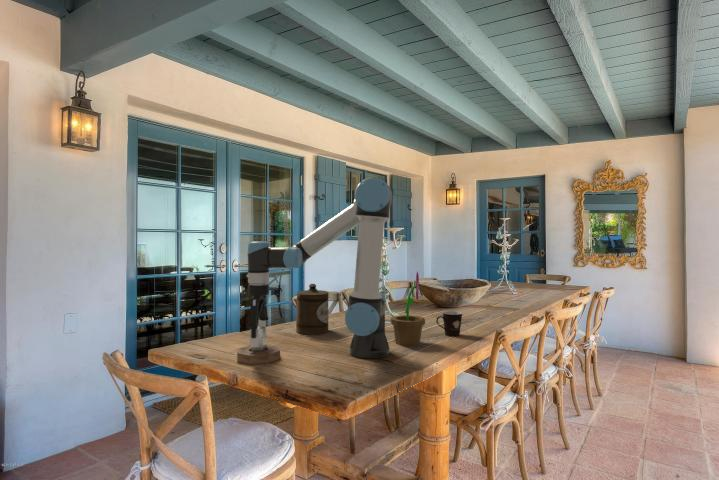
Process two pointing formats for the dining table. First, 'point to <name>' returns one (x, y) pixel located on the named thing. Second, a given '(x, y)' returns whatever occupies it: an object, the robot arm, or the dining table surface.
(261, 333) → the light grey rectangular block
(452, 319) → the coffee mug
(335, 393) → the dining table surface
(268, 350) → the brown wooden ring
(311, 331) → the wooden container
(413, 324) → the flowerpot
